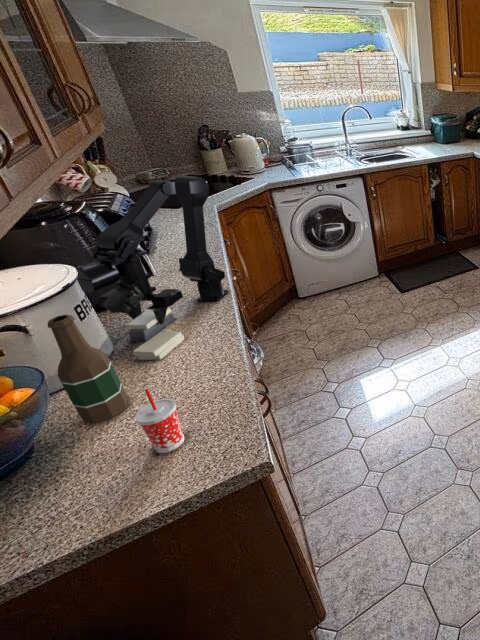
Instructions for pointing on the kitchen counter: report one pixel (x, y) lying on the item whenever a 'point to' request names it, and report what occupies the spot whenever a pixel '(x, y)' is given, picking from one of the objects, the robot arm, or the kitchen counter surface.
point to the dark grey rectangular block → (149, 330)
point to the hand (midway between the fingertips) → (151, 323)
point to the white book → (144, 320)
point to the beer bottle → (87, 374)
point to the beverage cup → (161, 424)
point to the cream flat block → (159, 345)
